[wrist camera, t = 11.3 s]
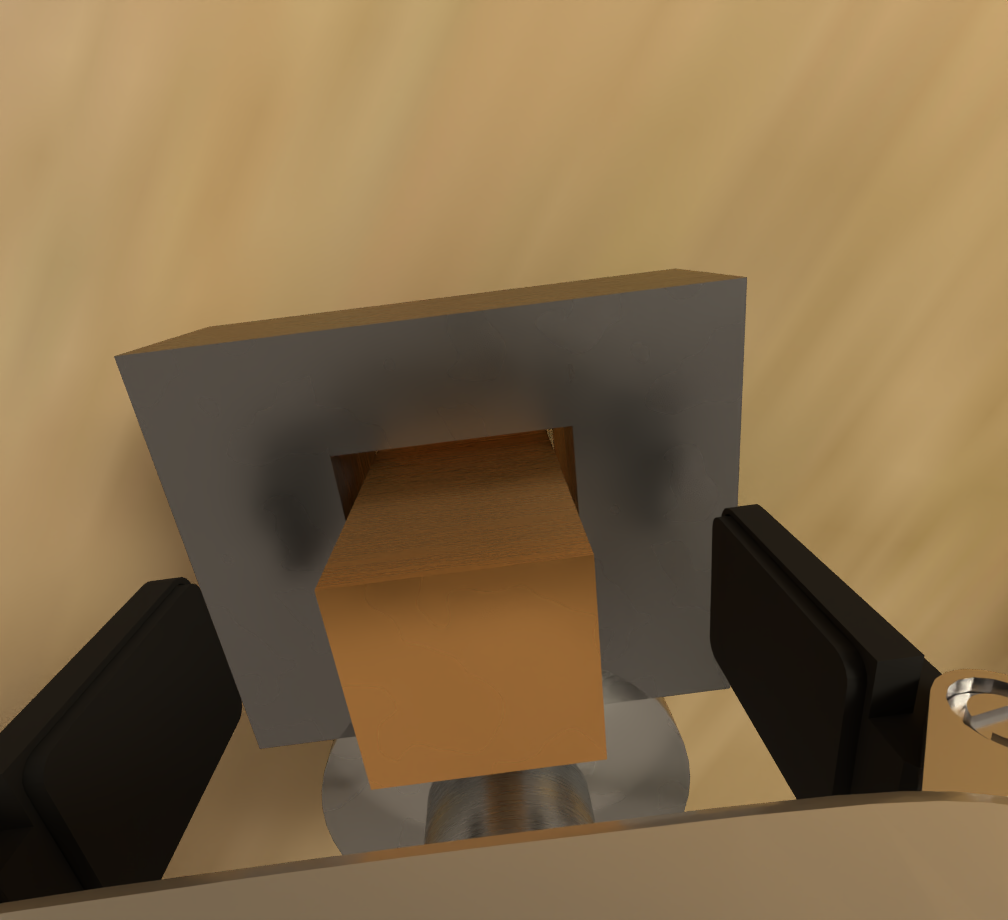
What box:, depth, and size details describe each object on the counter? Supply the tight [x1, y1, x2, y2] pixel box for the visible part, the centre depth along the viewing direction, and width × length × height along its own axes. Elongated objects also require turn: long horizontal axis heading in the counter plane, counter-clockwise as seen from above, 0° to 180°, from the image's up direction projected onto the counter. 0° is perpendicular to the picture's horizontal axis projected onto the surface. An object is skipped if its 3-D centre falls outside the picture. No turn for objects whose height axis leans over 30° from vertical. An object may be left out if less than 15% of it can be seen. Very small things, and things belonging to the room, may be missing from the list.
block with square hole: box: [114, 269, 747, 855], centre depth 15 cm, size 12×18×14 cm, turn 7°
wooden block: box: [314, 429, 607, 790], centre depth 14 cm, size 4×4×12 cm
